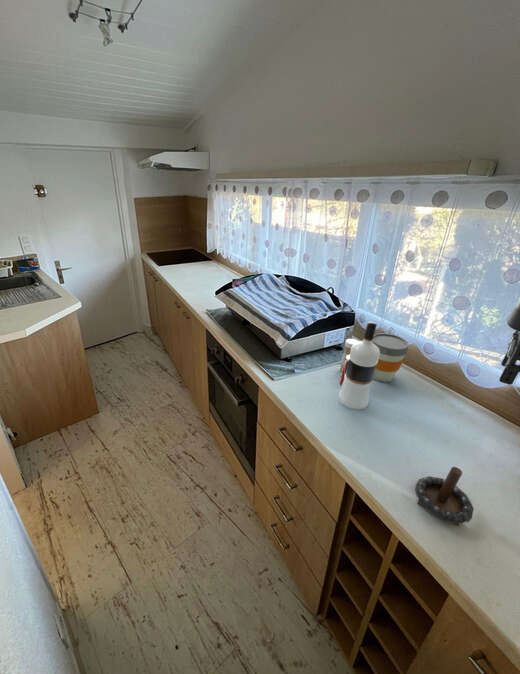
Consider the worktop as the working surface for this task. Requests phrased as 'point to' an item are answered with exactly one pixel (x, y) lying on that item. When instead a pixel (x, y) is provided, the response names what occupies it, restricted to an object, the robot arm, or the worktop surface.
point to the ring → (442, 514)
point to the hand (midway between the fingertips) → (505, 374)
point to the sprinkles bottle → (347, 350)
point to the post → (446, 493)
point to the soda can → (344, 370)
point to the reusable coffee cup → (389, 355)
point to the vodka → (360, 371)
